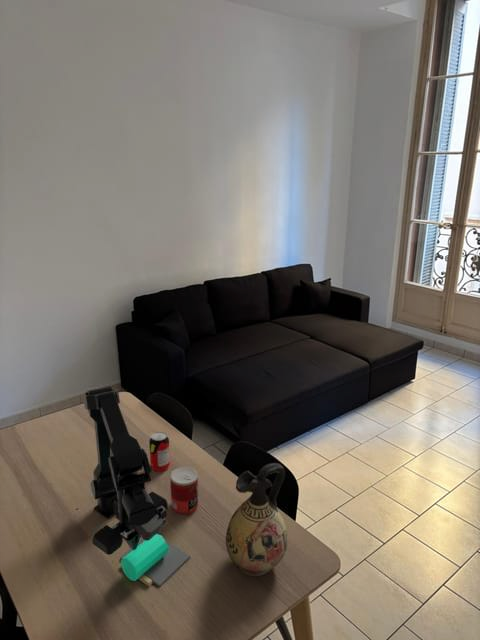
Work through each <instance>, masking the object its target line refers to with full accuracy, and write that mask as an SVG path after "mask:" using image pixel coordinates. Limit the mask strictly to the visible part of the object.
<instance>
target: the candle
mask: <svg viewBox="0 0 480 640" xmlns="http://www.w3.org/2000/svg"><path fill="white" fill-rule="evenodd" d="M165 540H166V539H165V538H164V537H163V535H161V534H159V533H157V534H156V535H154V536H153V537H152V538H151V539H150V540H148V541H146V540H145V541H144V542H143V543H141V544H140V545H139V546H138V547H137V549H135V550H133V551H131V552H130V553H129V554H128V555H126V556H125V557H124V558H123V559H122V560H121V559H120V567H121V570H122V571H123V573H124V575H125V576H126V577H127V578H128V579H129V580H131V581H134V582H136V581H137V580H139V579H138V578H139V577H140V576H142V575H143V574H144V573H145V572H146V571H147V570H149V569H150V568H151V567H152V566H153V565H154V564H156V563H157V562H158V561H159V560H160V559H161V558H163V557H164V556H165V555H166V554H167V553H168V545H167V544H166V542H165Z"/></svg>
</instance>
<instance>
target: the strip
mask: <svg viewBox="0 0 480 640" xmlns="http://www.w3.org/2000/svg"><path fill="white" fill-rule="evenodd" d="M137 580H139V581H140V582H141V583H143V584H145V586H147V587H148V588H150V587H151V586H152V585H153V582H152V580H151V579H149V578H148V577H147V576H145V575H144V574H143V575H142V576H140V577H139V578H138V579H137Z"/></svg>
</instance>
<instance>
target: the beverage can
mask: <svg viewBox="0 0 480 640" xmlns="http://www.w3.org/2000/svg"><path fill="white" fill-rule="evenodd" d="M149 464H150V468H151V470H152V469H153V470H154V471H157V472H163V471H165V470H167V469H169V467H170V465H171V457H170V439H169V437H168V434H167V433H166V432H165V431H155V432H153V433H152V434H151V435H150V438H149Z"/></svg>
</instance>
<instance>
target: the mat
mask: <svg viewBox="0 0 480 640" xmlns="http://www.w3.org/2000/svg"><path fill="white" fill-rule="evenodd" d="M164 540H165V542H166V544H167V545H168V553H167V554H166V555H165V556H164V557H163V558H161V559H160V560H159V561H158V562H157V563H156V564H154V565H153V566H152V567H151V568H150V569H149V570H147V571H146V572H145V573H144V575H145V576H147V577H148V578H149V579H151V580H152V584H155V585H156V586H158V587H159V588H160V587H162V585H164V584H165V583H166V582H167V581H168V580H170V578H171V577H172V576H173V575H174V574H175V573H176V572H177V571H178V570H179V569H180V568H181V567H182V566H184V564H185V563H186V562H187V561H188V560H190V559H191V556H190V554H188V553H186V552H185V551H183V550H181V549H180V548H178V547H177V546H176V545H173V544H172V543H170V542H169V541H167V540H166V539H164ZM144 541H145V540H144V539H143V538H142V539H140V540H139V543H138V546H139V545H140V544H141V543H143V542H144ZM138 546H137V547H138ZM131 551H133V550H132V549H131V548H130V549H129V550H128V551H126V552H125V553H124V554H123V555H121V556H120V561H121V560H122V559H123V558H124V557H125V556H126V555H128V554H129V553H130V552H131Z"/></svg>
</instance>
